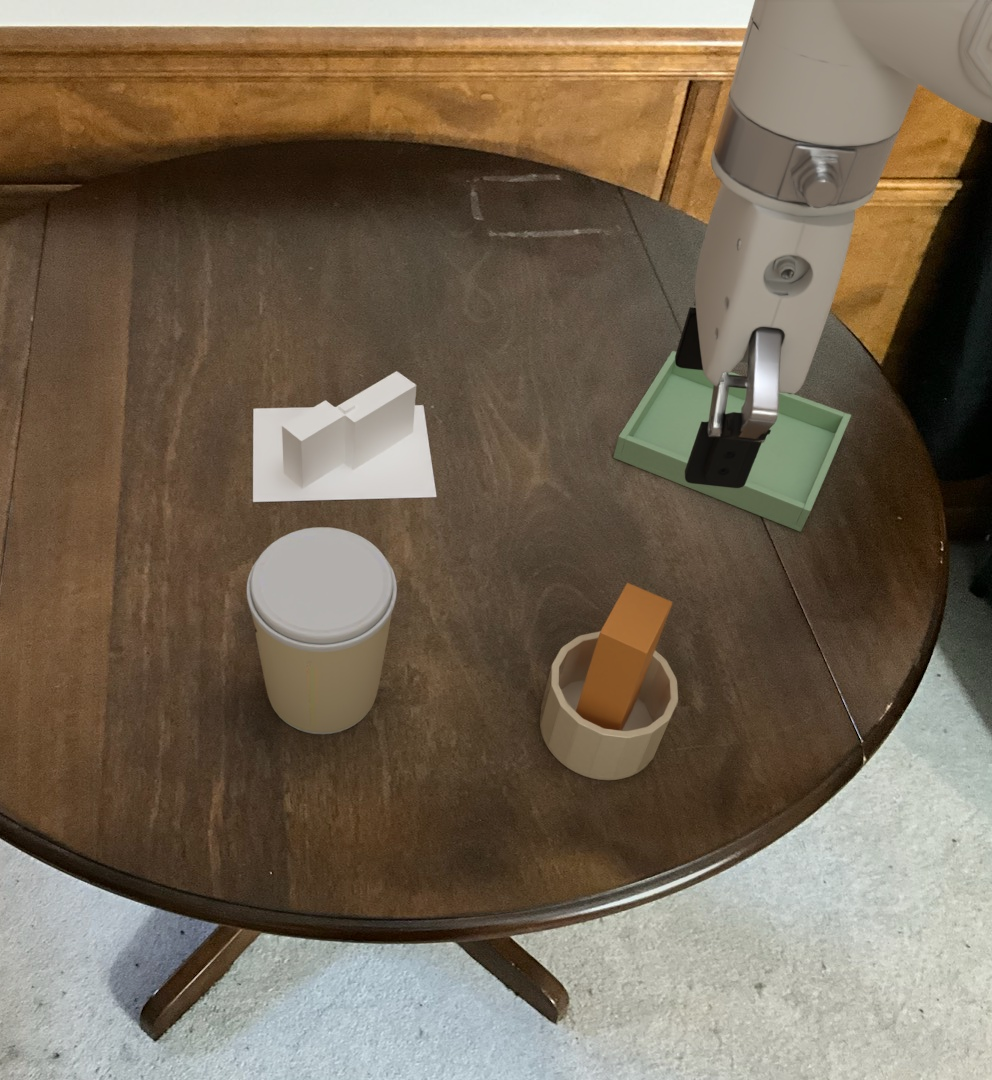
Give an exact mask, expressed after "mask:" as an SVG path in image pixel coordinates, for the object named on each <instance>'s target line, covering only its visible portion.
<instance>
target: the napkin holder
mask: <svg viewBox="0 0 992 1080" xmlns="http://www.w3.org/2000/svg"><path fill="white" fill-rule="evenodd" d="M416 395H417V384H416V383H414V382H413V381H412V380H410V378H409V379H408V377H406V376H404V375H403V374H401V372H399V371H397V370H396V371H394V372H393V373H391V374H389V375H387V376H386V377H384V378H383V379H381V380H379V381H378V382H376V383H374V384H372V385H371V386H369V387H367V388H366V389H363V390H362V391H360V392H358V393H356V394H355V395H353V396H352V397H350V398H349V399H347V400H345V401H343V402H341V403H340V404H338V405H337V406H334V405H333V404H332V403H330V402H328V401H327V400H326V399H325V400H323V401H322V402H320V403H318V404H316V405H315V406H313V407H311V406H310V407H267V408H266V407H265V408H264V407H263V408H261V407H260V408H259V407H258V408H253V411H252V412H253V416H252V417H253V419H252V421H253V422H252V428H253V429H252V503H267V502H268V503H269V502H272V503H273V502H305V501H306V502H307V501H335V500H336V501H341V500H344V501H347V500H348V501H349V500H378V499H379V500H381V499H382V500H383V499H384V500H385V499H417V498H420V499H421V498H422V499H423V498H437V489H436V483H435V476H434V469H433V464H432V463H433V461H432V455H431V449H430V441H429V436H428V428H427V421H426V414H425V408H424V404H416Z"/></svg>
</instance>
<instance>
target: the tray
mask: <svg viewBox="0 0 992 1080" xmlns="http://www.w3.org/2000/svg"><path fill="white" fill-rule="evenodd" d="M676 352H677V351H675V350H671V352H670V354H669V355H668V357H667V359H666V361H665V362H664V364H663V365H662V367H661V368H660V370H659V372H658V373H657V375H656V376H655V378H654V379H653V381H652V383H651V384H650V386H649V387H648V389H647V391H646V392H645V394H644V395H643V397H642V398H641V400H640V402H639V404H638V405H637V406H636V408H635V409H634V411H633V413H632V414H631V416H630V418H629V420H627V423H626V424H625V426H624V427H623V429H622V430H621V432H620V433H619V435H618V438H617V441H616V445H615V448H614V453H613V457H612V458H613V459H615V460H618V461H621V462H623V463H625V464H628V465H631V466H633V467H636V468H637V469H640V470H643V471H646V472H648V473H650V474H652V475H653V474H654V475H656V476H658V477H661V478H663V479H666V480H669V481H671V482H673V483H676V484H679V485H681V486H684V487H686V488H689V489H691V490H693V491H695V492H699V493H701V494H704V495H706V496H708V497H711V498H713V499H716V500H718V501H721V502H724V503H726V504H729V505H732V506H734V507H736V508H738V509H741V510H744V511H746V512H748V513H752V514H754V515H756V516H759V517H762V518H764V519H767V520H769V521H772V522H774V523H777V524H779V525H782V526H785V527H787V528H790V529H792V530H794V531H797V532H799V533H801V532H802V531H803V528H804V526H805V524H806V522H807V521H808V517H809V516H810V514H811V511H812V510H813V507H814V505H815V502H816V500H817V497H818V495H819V493H820V490H821V489H822V486H823V483H824V481H825V479H826V477H827V475H828V472H829V469H830V467H831V465H832V462H833V460H834V459H835V458H834V457H835V456H836V453H837V450H838V448H839V446H840V443H841V441H842V438H843V436H844V434H845V432H846V429H847V427H848V425H849V422H850V420H851V417H852V414H850V413H847V412H844V411H842V410H839V409H836V408H833V407H831V406H828V405H825V404H822V403H819V402H818V401H817V402H816V401H814V400H811V399H808V398H805V397H803V396H800V395H797V394H788V393H779V410H778V416H777V420H776V422H775V423H774V425H773V426H772V427H771V428H770V429H769V430H771V432H770V434H769V435H768V434H767V436H766V439H765V441H764V442H763V443H761V446H760V448H759V451H758V453H757V456H756V458H755V461H754V463H753V466H752V468H751V471H750V473H749V476H748V478H747V481H746V483H745V485H744V486H743V487H741V488H729V487H720V486H711V485H702V484H693V483H688V482H687V481H686V480H685V469H686V466H687V463H688V460H689V457H690V454H691V451H692V448H693V445H694V442H695V439H696V436H697V433H698V430H699V427H700V424H701V421H702V422H708V421H709V414H710V408H711V401H712V394H713V387H714V385H713V384H712V383H711V382H710V381H709V380H708V379H707V377H706V376H705V374H704V371H703V370H695V369H686V368H680V367H678V366H677V365H676V363H675V355H676ZM728 374H729V375H739V376H742V374H740V373H739V374H738V373H735V372H734V371H731V372H730V373H728ZM746 391H747V389H742V388H733V387H729V392H728V398H727V405H726V412H725V414H728V413H732V412H737V413H741V408H742V406H743V405H744V403H745V399H746Z"/></svg>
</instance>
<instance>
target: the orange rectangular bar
mask: <svg viewBox="0 0 992 1080" xmlns="http://www.w3.org/2000/svg"><path fill="white" fill-rule="evenodd" d="M673 603H674V602H673V601H671V600H669V599H666V598H664V597H662V596H659V595H657V594H655V593H653V592H650V591H648V590H645V589H643V588H641V587H639V586H636V585H634V584H631V583H629V582H626V584H625V586H624V587H623V590H622V591H621V592H620V595H619V596H618V599H617V600H616V602H615V604H614V605H613V608H612V610H611V611H610V613H609V615H608V616H607V618H606V620H605V622H604V624H603V625H602V628H601V630H599V631H600V634H599V637H598V640H597V644H596V647H595V650H594V653H593V657H592V660H591V663H590V666H589V670H588V673H587V676H586V679H585V683H584V686H583V689H582V692H581V696H580V699H579V702H578V706H577V709H576V712H577V713H578V714H579V715H580V716H581V717H582V718H583V719H585V720H587V721H589V722H591V723H593V724H595V725H598V726H600V727H602V728H604V729H612V730H620V731H622V730H623V728H624V726H625V724H626V722H627V720H628V718H629V716H630V714H631V712H632V710H633V707H634V704H635V702H636V699H637V696H638V694H639V691H640V688H641V686H642V683H643V680H644V678H645V675H646V672H647V670H648V667H649V665H650V662H651V659H652V657H653V654H654V651H655V650H656V648H657V646H658V643H659V641H660V638H661V635H662V634H663V629H664V627H665V625H666V622H667V619H668V616H669V614H670V611H671V608H672V606H673Z"/></svg>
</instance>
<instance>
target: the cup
mask: <svg viewBox="0 0 992 1080" xmlns="http://www.w3.org/2000/svg"><path fill="white" fill-rule="evenodd" d="M600 631H601V630H599V631H594V632H591V633H586V634H581V635H578V636H577V637H575V638H573V639H572V640H571V641H569V642H568V643H566V644H564V645H563V646H562V647H561V648H560V649H559V651H558V653H557V655H556V657H555V658H554V660H553V662H552V664H551V667H550V669H549V670H550V671H549V675H548V678H547V682H546V686H545V689H544V694H543V697H542V701H541V704H540V714H539V728H540V734H541V736H542V739H543V742H544V743H545V745H546V747H547V749H548V750H549V752H550V753H551V754H552V755H553V756H554V758H555V759H556V760H557V761H559V763H561V764H562V765H563V766H565V767H566V768H567V769H569V770H571V771H572V772H574V773H575V774H577V775H578V774H579V775H581V776H583V777H585V778H590V779H594V780H600V781H616V780H623V779H626V778H630V777H632V776H635V775H636V774H638V773H639V772H642V770H644V769H645V768H646V767H647V766H648V765H650V763H651V761H653V759H654V758H655V756H656V753H657V751H658V749H659V747H660V745H661V743H662V740H663V738H664V735H665V733H666V731H667V728H668V726H669V724H670V722H671V719H672V717H673V715H674V712H675V710H676V708H677V705H678V703H679V691H678V690H679V689H678V680H677V677H676V675H675V674H674V671H673V670H672V668H671V666H670V664H669V662H668V661H667V659H666V658H664V657H663V656H662V654H660V653H659V652H658V651H657V650H656V649H655V651H654V654H653V657H652V659H651V662H650V665H649V667H648V670H647V672H646V675H645V678H644V680H643V683H642V686H641V688H640V691H639V694H638V696H637V699H636V702H635V704H634V707H633V710H632V712H631V714H630V716H629V718H628V720H627V722H626V724H625V726H624V728H623V730H622V731H620V730H612V729H604V728H602V727H600V726H598V725H595V724H593V723H591V722H589V721H587V720H585V719H583V718H582V717H581V716H580V715H579V714H578V713H577V712H576V709H577V706H578V702H579V699H580V696H581V692H582V689H583V686H584V683H585V679H586V676H587V673H588V670H589V666H590V663H591V660H592V657H593V653H594V650H595V647H596V644H597V640H598V637H599V634H600Z"/></svg>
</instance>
